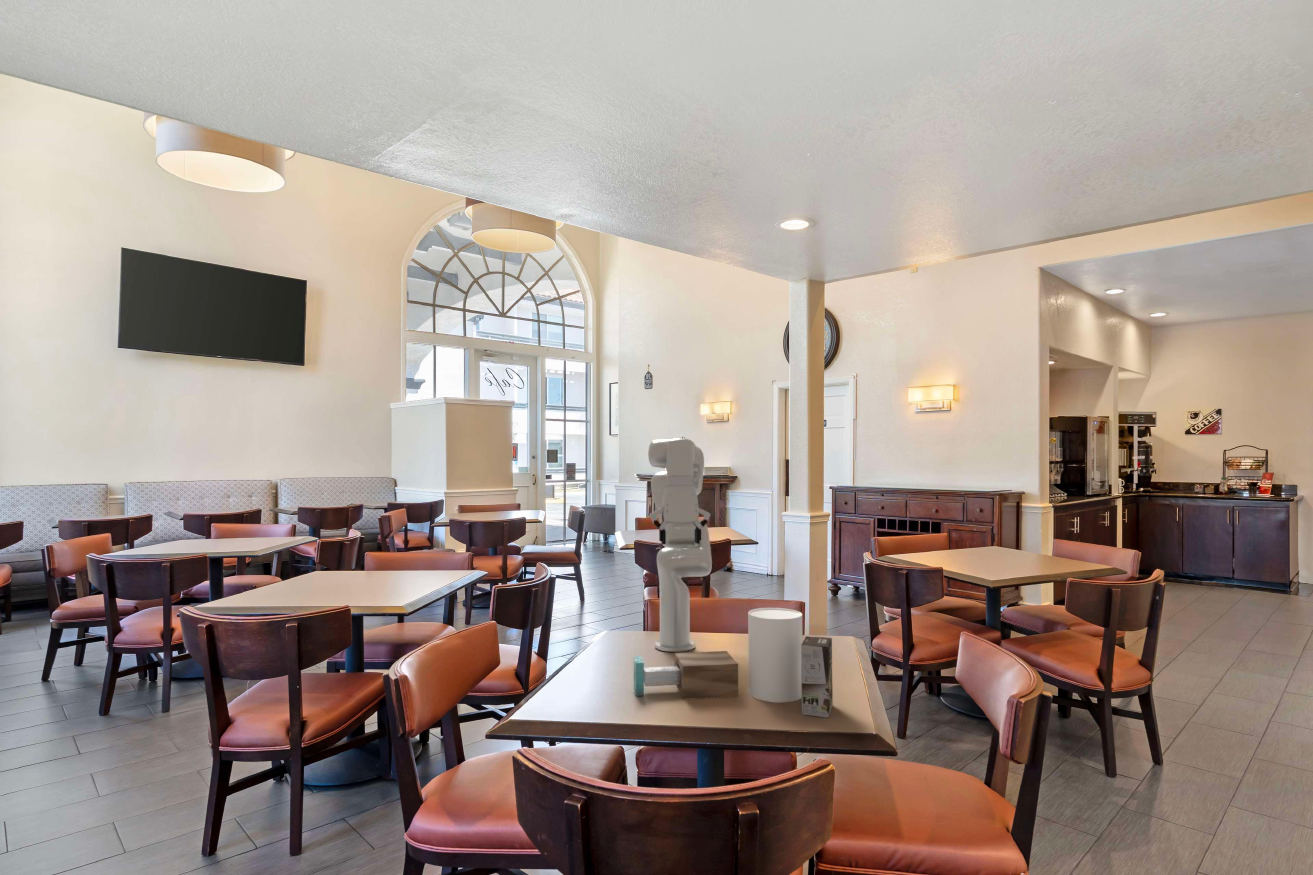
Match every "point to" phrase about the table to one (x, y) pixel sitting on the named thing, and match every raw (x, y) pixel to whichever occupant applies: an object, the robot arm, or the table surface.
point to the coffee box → (816, 676)
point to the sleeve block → (707, 674)
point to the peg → (653, 676)
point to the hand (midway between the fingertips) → (680, 543)
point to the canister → (775, 654)
